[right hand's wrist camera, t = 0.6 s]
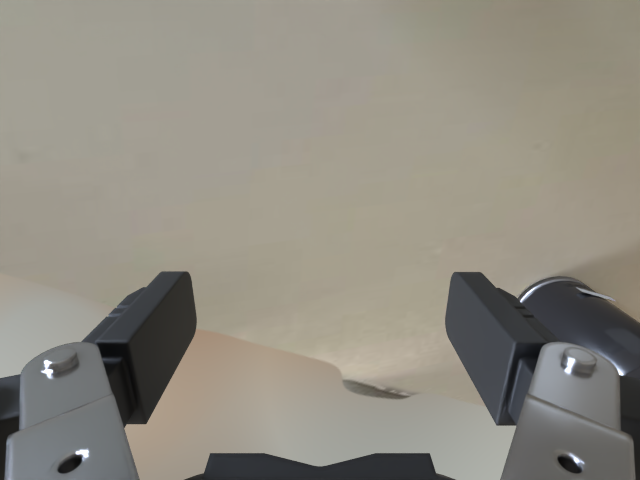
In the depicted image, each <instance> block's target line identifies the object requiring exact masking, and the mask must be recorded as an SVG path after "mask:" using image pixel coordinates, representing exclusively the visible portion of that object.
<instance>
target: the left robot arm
mask: <svg viewBox="0 0 640 480" xmlns="http://www.w3.org/2000/svg"><path fill="white" fill-rule="evenodd" d="M604 298H606V299H609V300H613V301H615V300H614V299H612V298H611V297H609V296H605V295H602V294H598V293H596V292H594V291H593V290H591V289H590V288H589V287H588V286H586V285H585V284H583V283H582V282H580V281H578V280H576V279H574V278H570V277H551V278H547V279H544V280H541V281H539V282H537V283H535V284H533V285H532V286H530V287H529V288H528V289H526V290H525V291H524V292H523V293H522V294H521V295H520V297H519V298H518V300H519V301H520V302H521V303H522V304H523V305H524V306H525V309H528V310H529V311H530V312H531V313H532V314H533V315H534V318H537V319H538V320H539V321H540V322H541V323H542V324H543V325H544V326H545V327H546V328H547V329H548V330H549V331H550V332H551V333H552V334H553V335H554V336H555V337H557V338H558V339H559V340H560V341H561V342H565V343H571V344H576V345H579V346H583V347H585V348H588V349H590V350H593V351H595V352H597V353H599V354H600V355H602V356H604V357H605V358H606V359H608V360H609V361H610V362H611V363H612V364H614V366H615V367H616V368H617V370H618V372H619V375H623V376H628V377H633V378H638V379H640V323H639V322H638V321H636V320H635V319H633V318H632V317H630V316H629V315H627V314H626V313H624V312H623V311H622V310H620V309H619V308H617V307H616V306H614V305H613V304H611V303H610V302H608V301H607V300H605V299H604Z"/></svg>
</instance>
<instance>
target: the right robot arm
mask: <svg viewBox="0 0 640 480" xmlns="http://www.w3.org/2000/svg"><path fill="white" fill-rule="evenodd" d="M196 323H197V318H196V310H195V303H194V295H193V288H192V281H191V276H190V274H189V273H188V272H161V273H159V274H158V276H157V277H156V278H155V279H154V280H153V281H152V282H151V283H150V284H149V285H148V286H147V287H143V288H141V289H139V290H137V291H135V292H134V293H132V294H130V295H128V296H127V297H126V298H125V299H124V300H123V301H122V302H121V303H120V304H119V305H118V306H117V308H115V309H114V310H113V311H112V312H111V313H110V314H109V317H106V318H105V319H104V320H103V321H102V322H101V323H100V324H99V325H98V326H97V327H96V328H95V329H94V330H93V331H92V332H91V333H90V334H89V335H88V336H87V337H86V338H85V339H84V340H83V341H82V342H75V343H69V344H64V345H61V346H57V347H55V348H52V349H50V350H47V351H45V352H43V353H41V354H40V355H38V356H37V357H35V358H34V359H32V360H31V361H30V362H29V363H28V364H26V366H25V367H24V368H23V370H22V372H21V374H20V375H14V376H9V377H4V378H0V480H140V479H139V476H138V473H137V469H136V466H135V463H134V459H133V456H132V453H131V450H130V446H129V443H128V440H127V436H126V433H125V430H124V428H125V426H126V424H146V423H147V422H148V420H149V418H150V416H151V414H152V412H153V411H154V409H155V407H156V405H157V403H158V401H159V400H160V398H161V396H162V394H163V392H164V390H165V389H166V387H167V385H168V383H169V381H170V379H171V378H172V376H173V374H174V372H175V370H176V368H177V366H178V365H179V363H180V361H181V359H182V357H183V355H184V354H185V352H186V350H187V348H188V346H189V344H190V343H191V341H192V339H193V337H194V334H195V331H196ZM445 325H446V332H447V335H448V338H449V340H450V341H451V343H452V345H453V347H454V349H455V351H456V352H457V354H458V356H459V358H460V360H461V361H462V363H463V365H464V367H465V369H466V371H467V372H468V374H469V376H470V378H471V380H472V381H473V383H474V385H475V387H476V389H477V391H478V392H479V394H480V396H481V398H482V400H483V401H484V403H485V405H486V407H487V409H488V411H489V412H490V414H491V416H492V418H493V420H494V421H495V423H496V425H516V430H515V433H514V436H513V440H512V443H511V446H510V450H509V453H508V456H507V459H506V463H505V466H504V470H503V473H502V476H501V479H500V480H640V379H638V378H633V377H628V376H623V375H619V372H618V370H617V368H616V367H615V366H614V364H612V363H611V362H610V361H609V360H608V359H606V358H605V357H604V356H602V355H600V354H599V353H597V352H595V351H593V350H590V349H588V348H585V347H583V346H579V345H576V344H571V343H565V342H561V341H560V340H559V339H558V338H557V337H555V336H554V335H553V334H552V333H551V332H550V331H549V330H548V329H547V328H546V327H545V326H544V325H543V324H542V323H541V322H540V321H539V320H538V319H537V318H534V315H533V314H532V313H531V312H530V311H529V310H528V309H525V306H524V305H523V304H522V303H521V302H520V301H519V300H518V299H517V298H516V297H515V296H513V295H511V294H509V293H508V292H506V291H504V290H502V289H500V288H496V287H495V286H494V285H493V284H492V283H491V282H490V281H489V280H488V279H487V278H486V277H485V276H484V275H483V274H482V273H481V272H454V273H453V275H452V277H451V281H450V288H449V295H448V303H447V310H446V317H445ZM185 480H455V479H452V478H450V477H447V476H444V475H441V474H437V473H436V472H435V469H434V466H433V462H432V459H431V456H430V454H429V453H375V454H371V455H367V456H363V457H360V458H355V459H352V460H348V461H344V462H340V463H336V464H332V465H328V466H323V467H318V466H312V465H308V464H304V463H300V462H296V461H292V460H288V459H285V458H281V457H277V456H273V455H269V454H265V453H211V454H210V456H209V459H208V462H207V466H206V469H205V472H204V473H203V474H199V475H196V476H193V477H190V478H188V479H185Z"/></svg>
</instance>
